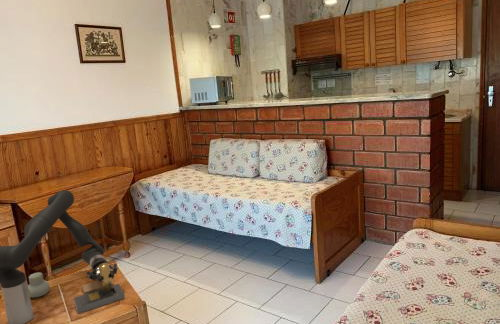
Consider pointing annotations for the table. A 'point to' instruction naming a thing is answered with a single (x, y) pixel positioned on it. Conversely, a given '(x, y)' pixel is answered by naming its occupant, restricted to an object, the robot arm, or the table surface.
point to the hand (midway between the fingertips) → (106, 278)
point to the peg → (105, 277)
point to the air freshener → (37, 285)
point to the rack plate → (98, 298)
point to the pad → (91, 287)
